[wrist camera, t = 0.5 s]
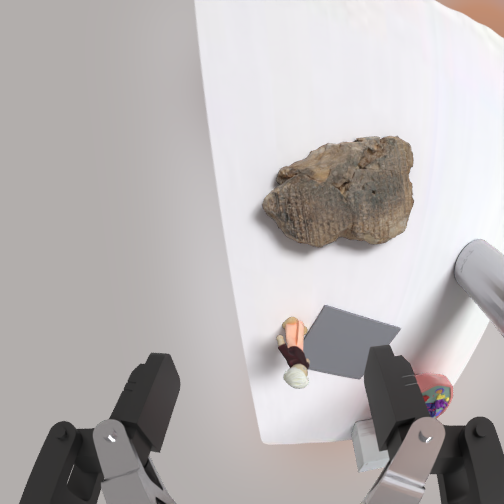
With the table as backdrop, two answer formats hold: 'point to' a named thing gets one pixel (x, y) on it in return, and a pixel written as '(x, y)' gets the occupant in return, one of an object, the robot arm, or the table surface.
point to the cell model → (435, 392)
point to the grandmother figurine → (294, 353)
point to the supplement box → (367, 447)
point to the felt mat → (344, 342)
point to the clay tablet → (345, 192)
